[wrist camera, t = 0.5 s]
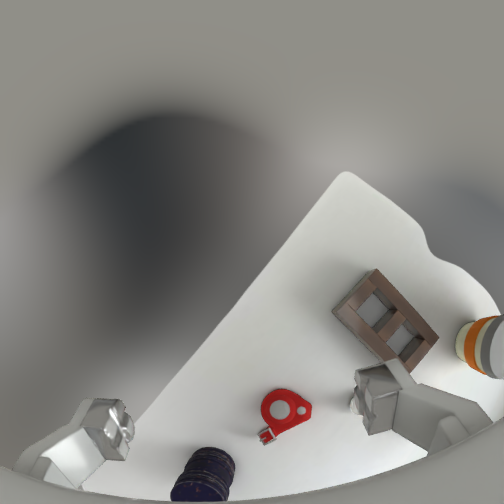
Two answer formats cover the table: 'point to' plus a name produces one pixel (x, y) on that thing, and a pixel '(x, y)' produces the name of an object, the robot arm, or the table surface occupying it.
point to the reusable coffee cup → (483, 345)
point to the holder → (386, 321)
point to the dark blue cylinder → (205, 477)
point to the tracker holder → (282, 413)
